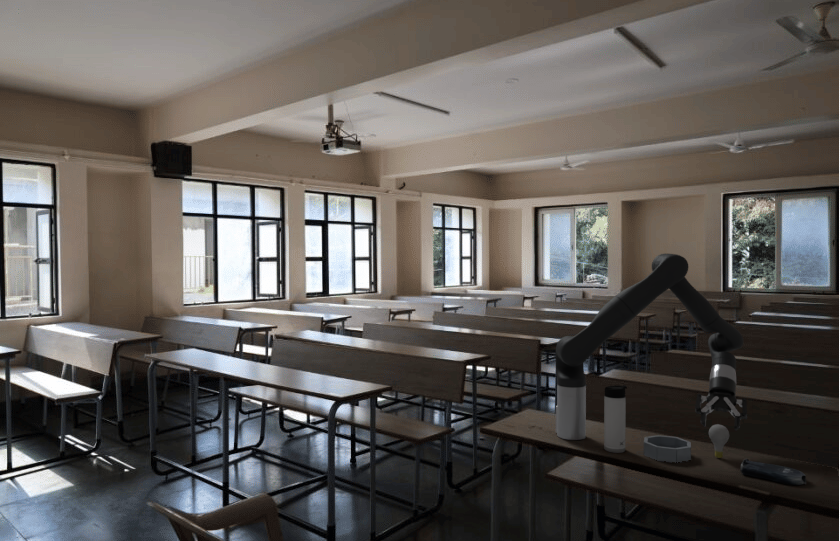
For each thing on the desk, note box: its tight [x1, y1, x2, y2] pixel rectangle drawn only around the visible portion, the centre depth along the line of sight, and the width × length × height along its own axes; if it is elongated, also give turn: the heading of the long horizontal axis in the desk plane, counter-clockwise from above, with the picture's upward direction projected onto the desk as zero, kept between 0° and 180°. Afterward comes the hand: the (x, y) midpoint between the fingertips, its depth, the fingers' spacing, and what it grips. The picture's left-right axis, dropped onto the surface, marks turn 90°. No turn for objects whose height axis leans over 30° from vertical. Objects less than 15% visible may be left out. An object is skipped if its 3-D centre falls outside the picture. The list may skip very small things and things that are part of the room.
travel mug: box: [603, 384, 627, 454], centre depth 187 cm, size 6×7×20 cm
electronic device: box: [739, 457, 807, 486], centre depth 164 cm, size 9×6×15 cm
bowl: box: [643, 434, 692, 464], centre depth 182 cm, size 13×13×4 cm
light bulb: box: [708, 423, 730, 459], centre depth 179 cm, size 6×5×10 cm
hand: (719, 427), depth 182 cm, fingers open, 8 cm apart
